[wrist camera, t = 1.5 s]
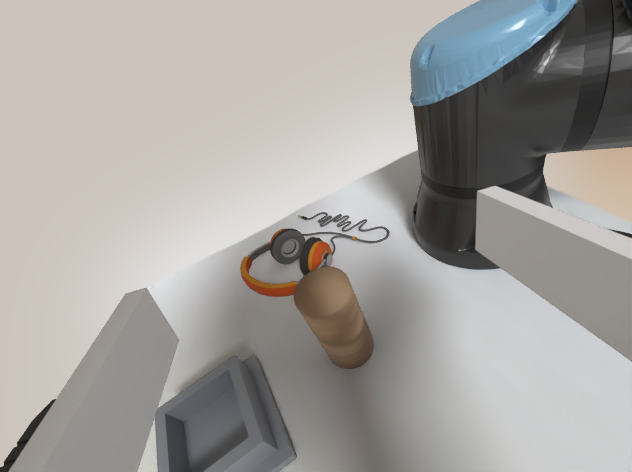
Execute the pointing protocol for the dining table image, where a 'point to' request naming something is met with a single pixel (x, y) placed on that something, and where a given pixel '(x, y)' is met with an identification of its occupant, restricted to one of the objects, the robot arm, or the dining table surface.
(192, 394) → the grey square tray
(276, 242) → the headphones
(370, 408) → the dining table surface
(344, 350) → the walnut cylinder
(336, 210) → the dining table surface
